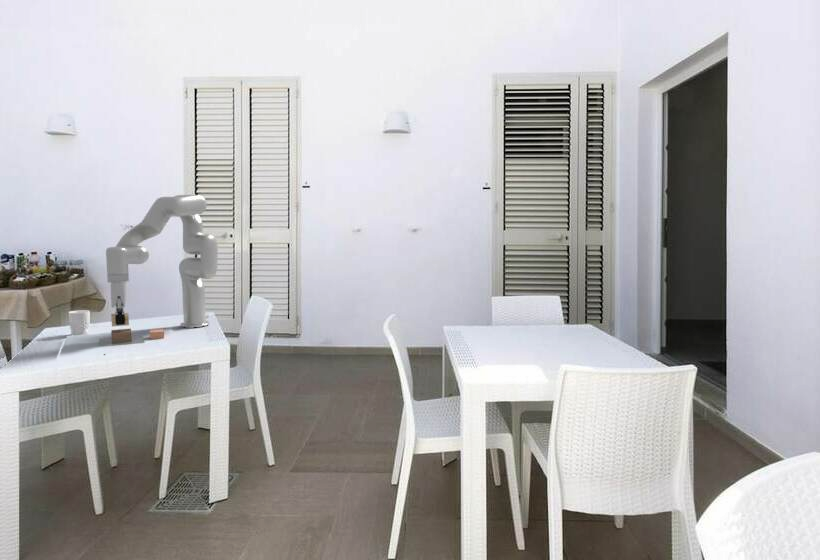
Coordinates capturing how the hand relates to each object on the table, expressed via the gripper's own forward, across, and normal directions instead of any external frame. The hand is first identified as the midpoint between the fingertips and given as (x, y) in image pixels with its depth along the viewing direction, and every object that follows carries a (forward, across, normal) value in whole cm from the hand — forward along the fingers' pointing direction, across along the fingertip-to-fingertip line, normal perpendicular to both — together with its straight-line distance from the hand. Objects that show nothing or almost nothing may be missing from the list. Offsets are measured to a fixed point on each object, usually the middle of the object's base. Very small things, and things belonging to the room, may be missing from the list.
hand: (120, 322), depth 225 cm
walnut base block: (+7, 0, 0) cm, 7 cm away
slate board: (+8, 0, 0) cm, 8 cm away
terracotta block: (+8, 0, +13) cm, 16 cm away
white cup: (+9, -26, -15) cm, 32 cm away
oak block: (+1, 0, 0) cm, 1 cm away
